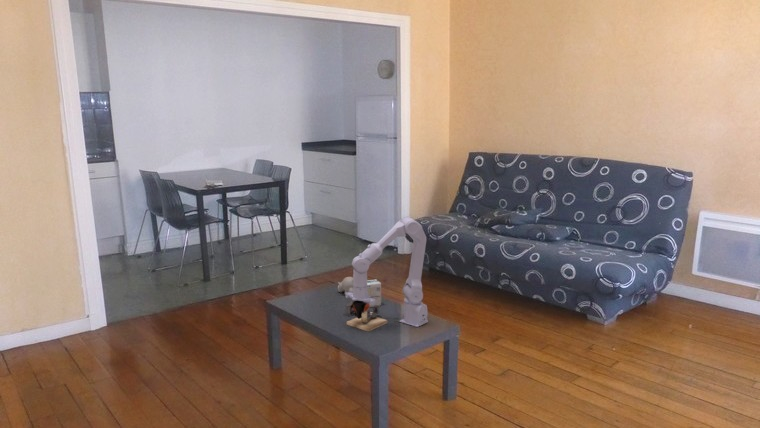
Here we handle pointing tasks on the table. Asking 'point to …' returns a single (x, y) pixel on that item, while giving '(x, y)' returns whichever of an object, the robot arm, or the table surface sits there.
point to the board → (370, 325)
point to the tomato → (364, 308)
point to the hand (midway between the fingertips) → (360, 317)
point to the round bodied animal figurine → (346, 285)
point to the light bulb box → (374, 291)
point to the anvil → (349, 309)
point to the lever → (369, 314)
